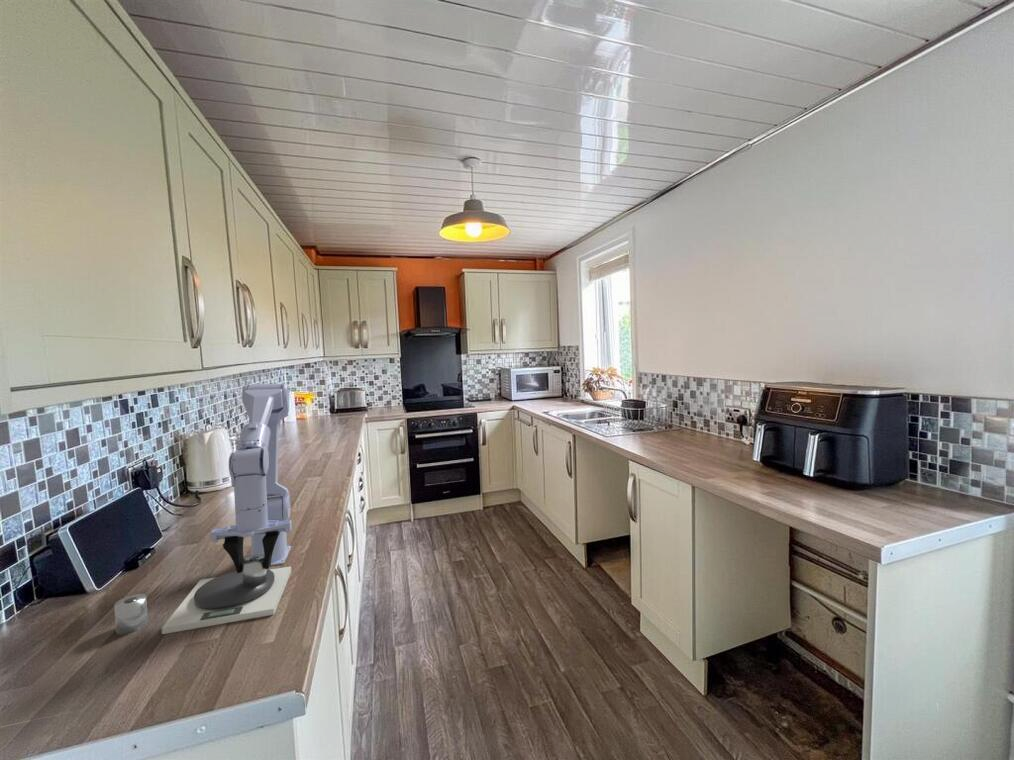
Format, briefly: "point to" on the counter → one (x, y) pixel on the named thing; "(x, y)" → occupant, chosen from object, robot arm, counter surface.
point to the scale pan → (229, 591)
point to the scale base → (199, 617)
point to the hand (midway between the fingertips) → (254, 568)
